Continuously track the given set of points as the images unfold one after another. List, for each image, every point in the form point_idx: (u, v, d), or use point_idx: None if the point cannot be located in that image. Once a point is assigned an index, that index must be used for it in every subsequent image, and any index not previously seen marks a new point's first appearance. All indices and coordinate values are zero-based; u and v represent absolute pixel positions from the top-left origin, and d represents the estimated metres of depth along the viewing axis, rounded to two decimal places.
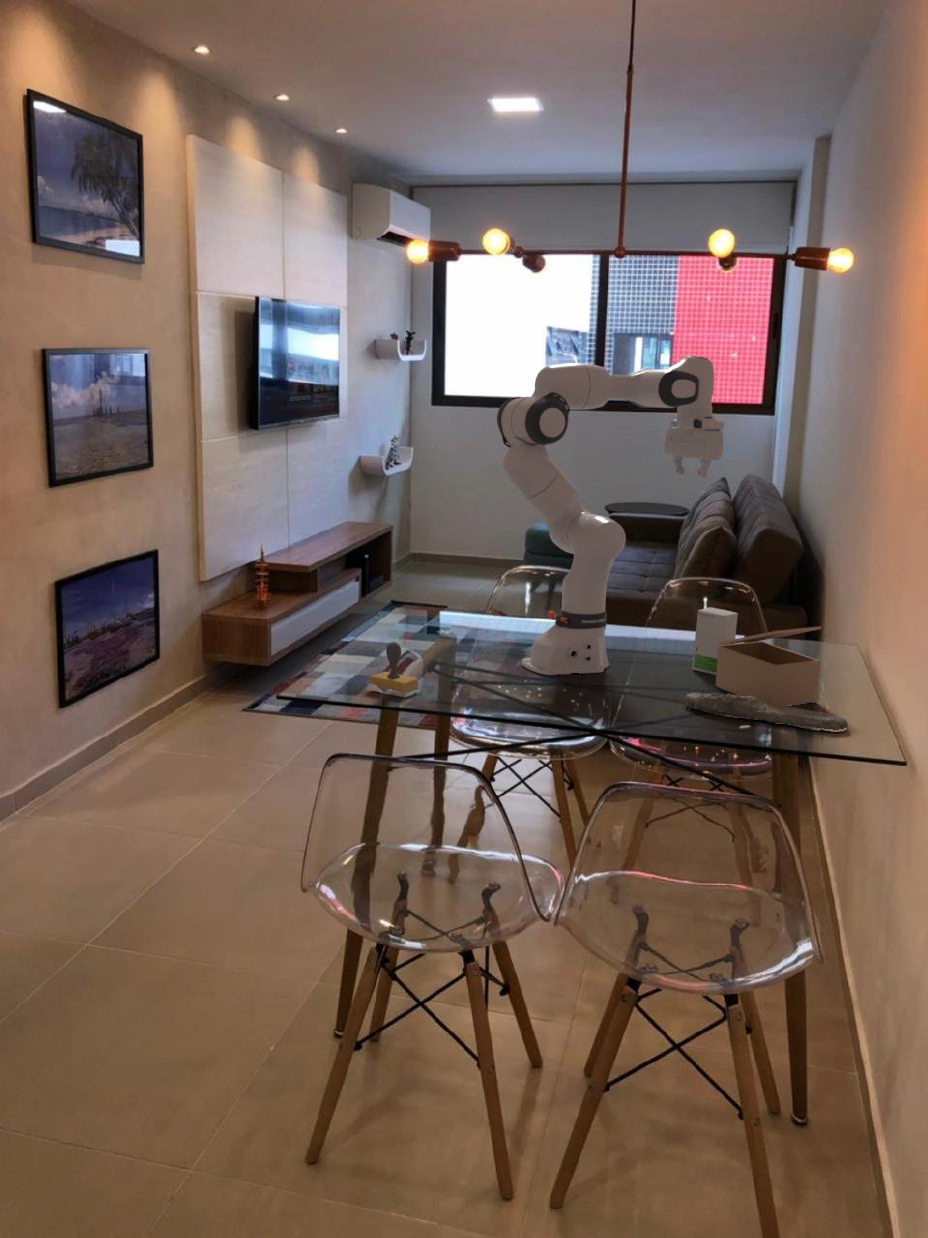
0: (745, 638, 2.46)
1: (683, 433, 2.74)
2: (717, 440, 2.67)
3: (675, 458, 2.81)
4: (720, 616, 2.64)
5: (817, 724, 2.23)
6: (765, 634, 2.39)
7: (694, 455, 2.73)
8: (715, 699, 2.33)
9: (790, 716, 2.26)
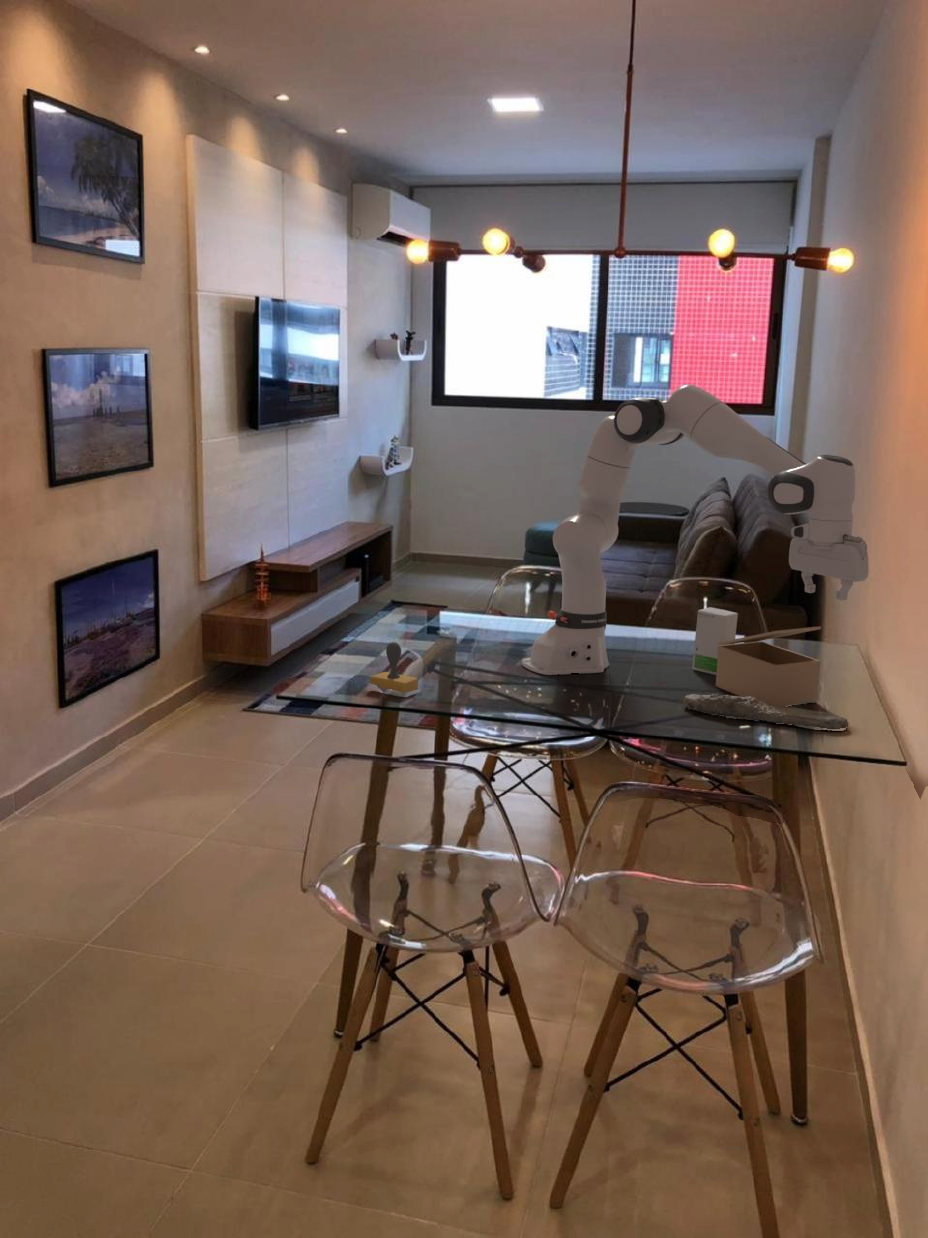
0: (745, 638, 2.46)
1: None
2: None
3: None
4: (720, 616, 2.64)
5: (819, 723, 2.24)
6: (765, 634, 2.39)
7: None
8: (715, 700, 2.32)
9: (791, 716, 2.26)
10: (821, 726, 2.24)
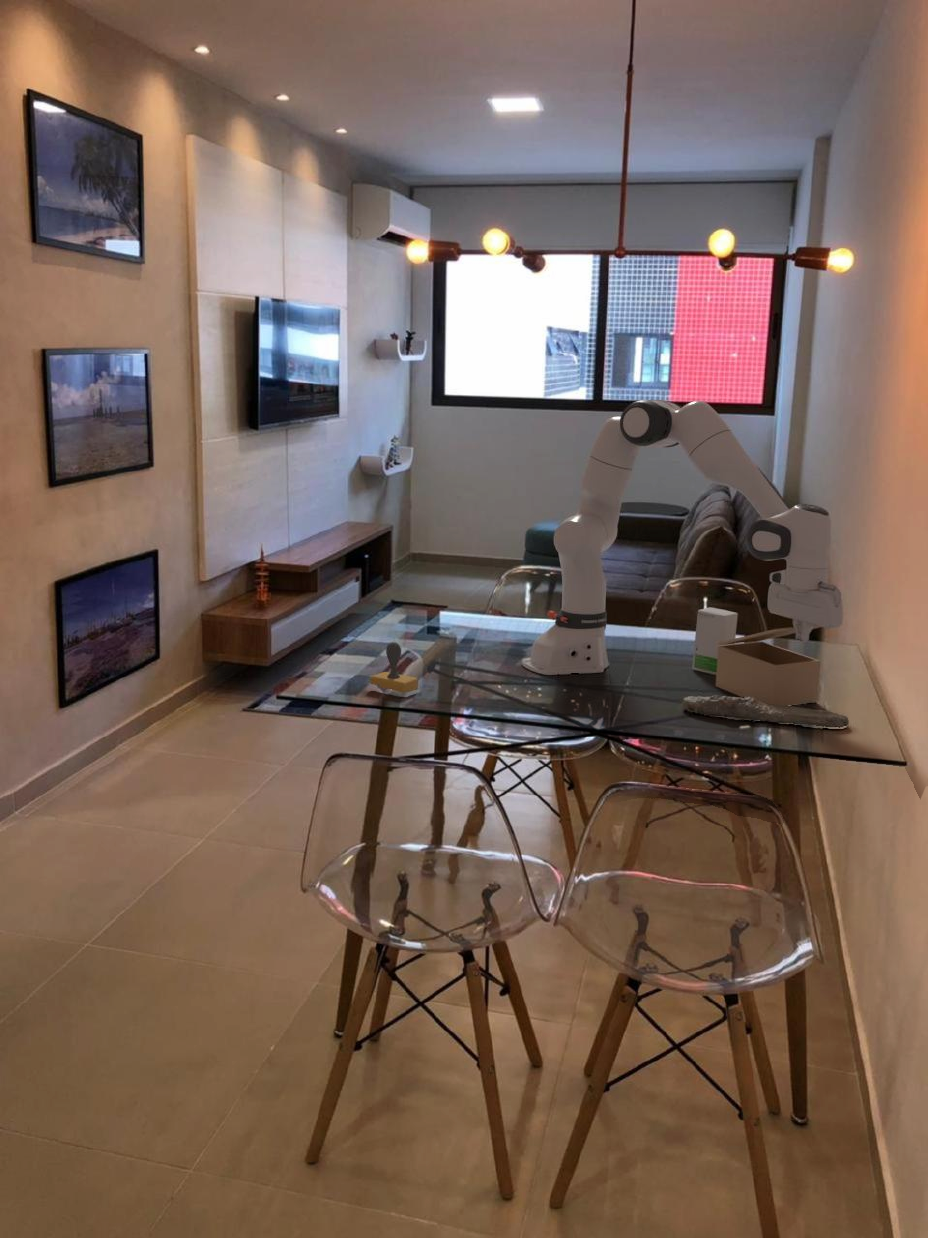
0: (745, 637, 2.46)
1: None
2: None
3: None
4: (720, 616, 2.64)
5: (821, 722, 2.25)
6: (765, 632, 2.39)
7: None
8: (717, 701, 2.31)
9: (793, 716, 2.27)
10: (824, 724, 2.25)
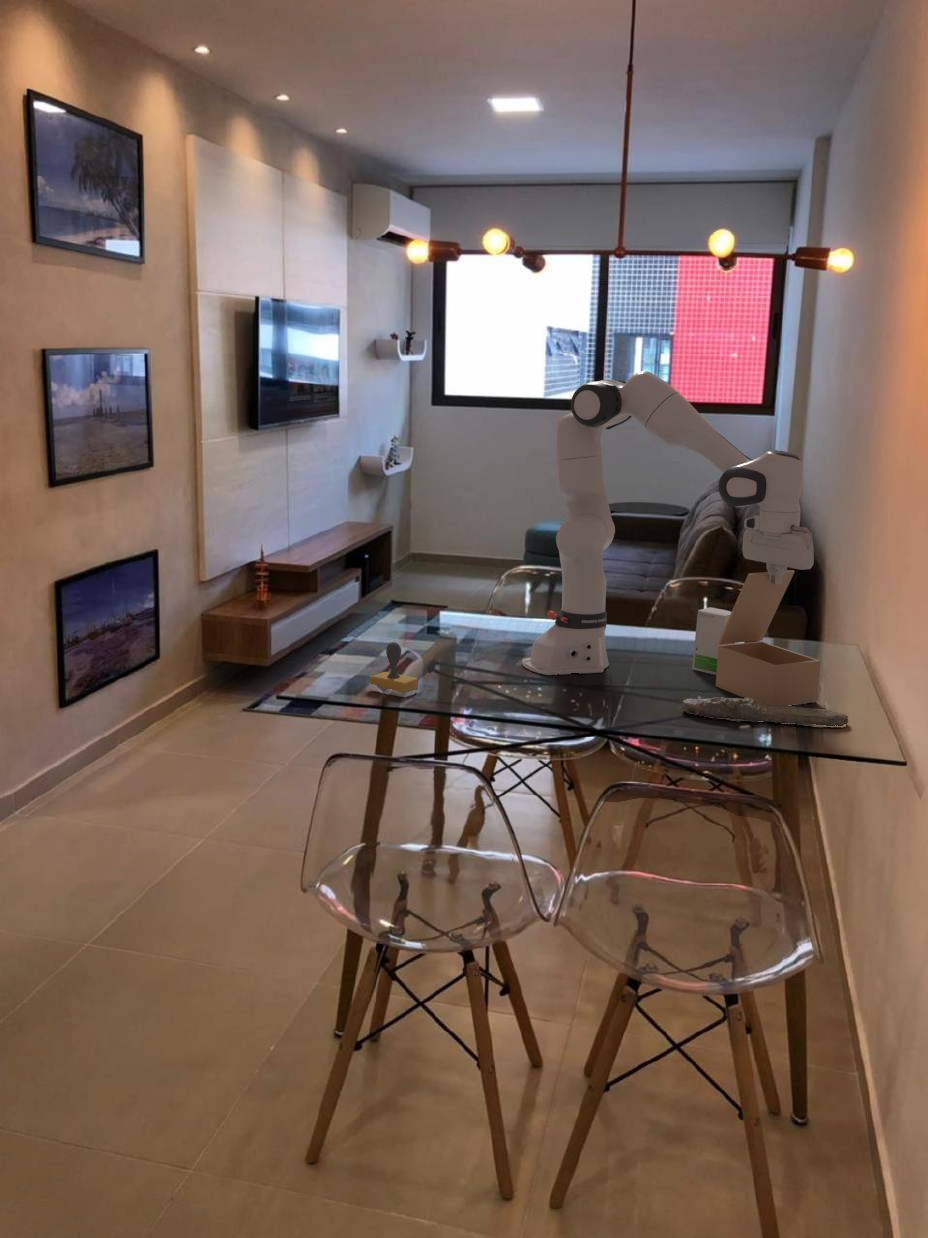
0: (733, 610, 2.49)
1: None
2: None
3: None
4: (720, 616, 2.64)
5: (823, 721, 2.25)
6: (743, 586, 2.45)
7: None
8: (718, 703, 2.30)
9: (795, 715, 2.27)
10: (826, 723, 2.25)
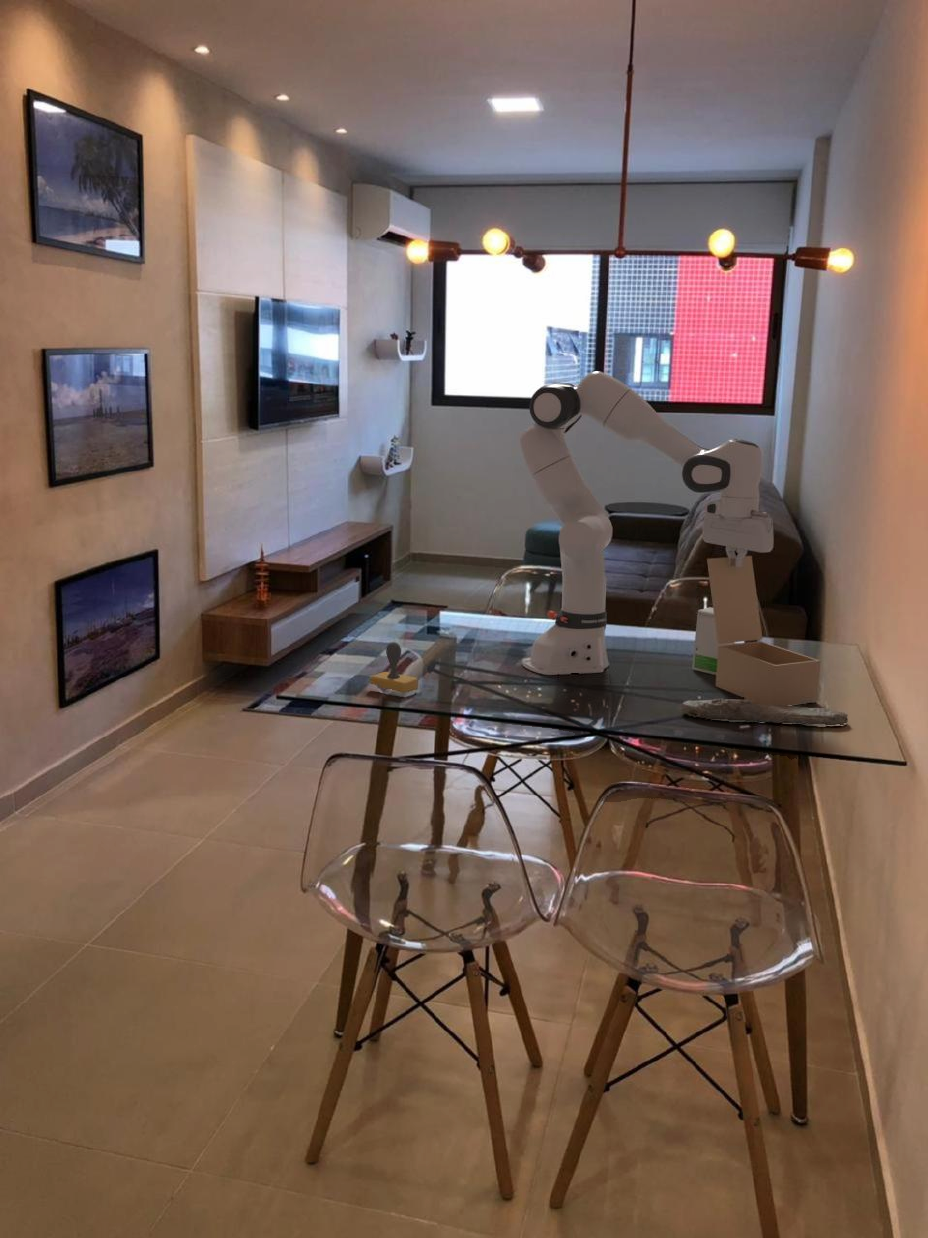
0: (713, 602, 2.55)
1: None
2: None
3: None
4: None
5: (825, 720, 2.26)
6: (709, 573, 2.56)
7: None
8: (720, 705, 2.28)
9: (797, 715, 2.27)
10: (827, 723, 2.26)
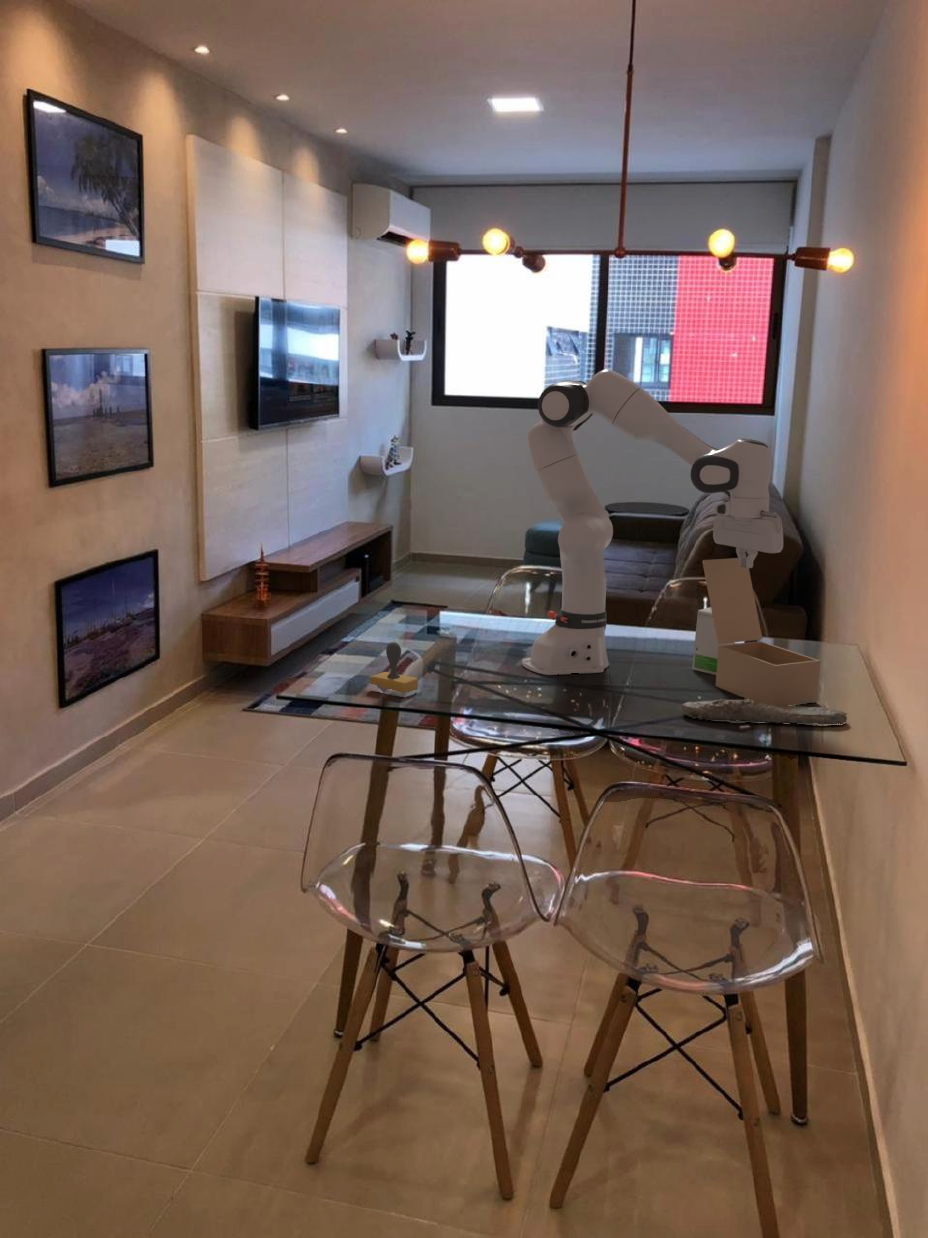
0: (710, 602, 2.56)
1: None
2: None
3: None
4: None
5: (825, 719, 2.26)
6: (705, 574, 2.57)
7: None
8: (722, 706, 2.28)
9: (798, 715, 2.27)
10: (827, 722, 2.27)
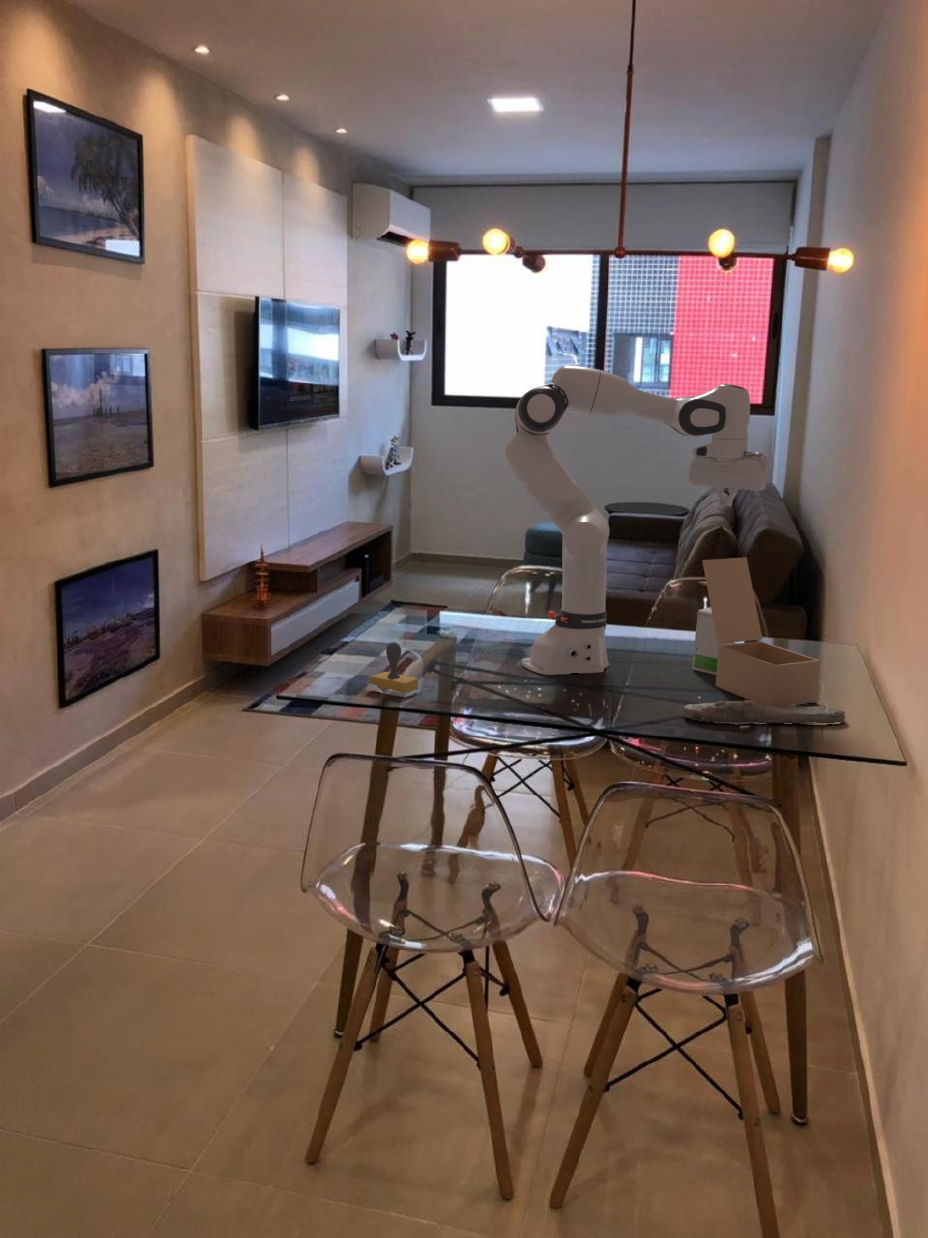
0: (710, 602, 2.56)
1: None
2: None
3: None
4: None
5: (826, 718, 2.27)
6: (705, 574, 2.57)
7: None
8: (725, 708, 2.26)
9: (799, 715, 2.27)
10: (828, 721, 2.27)
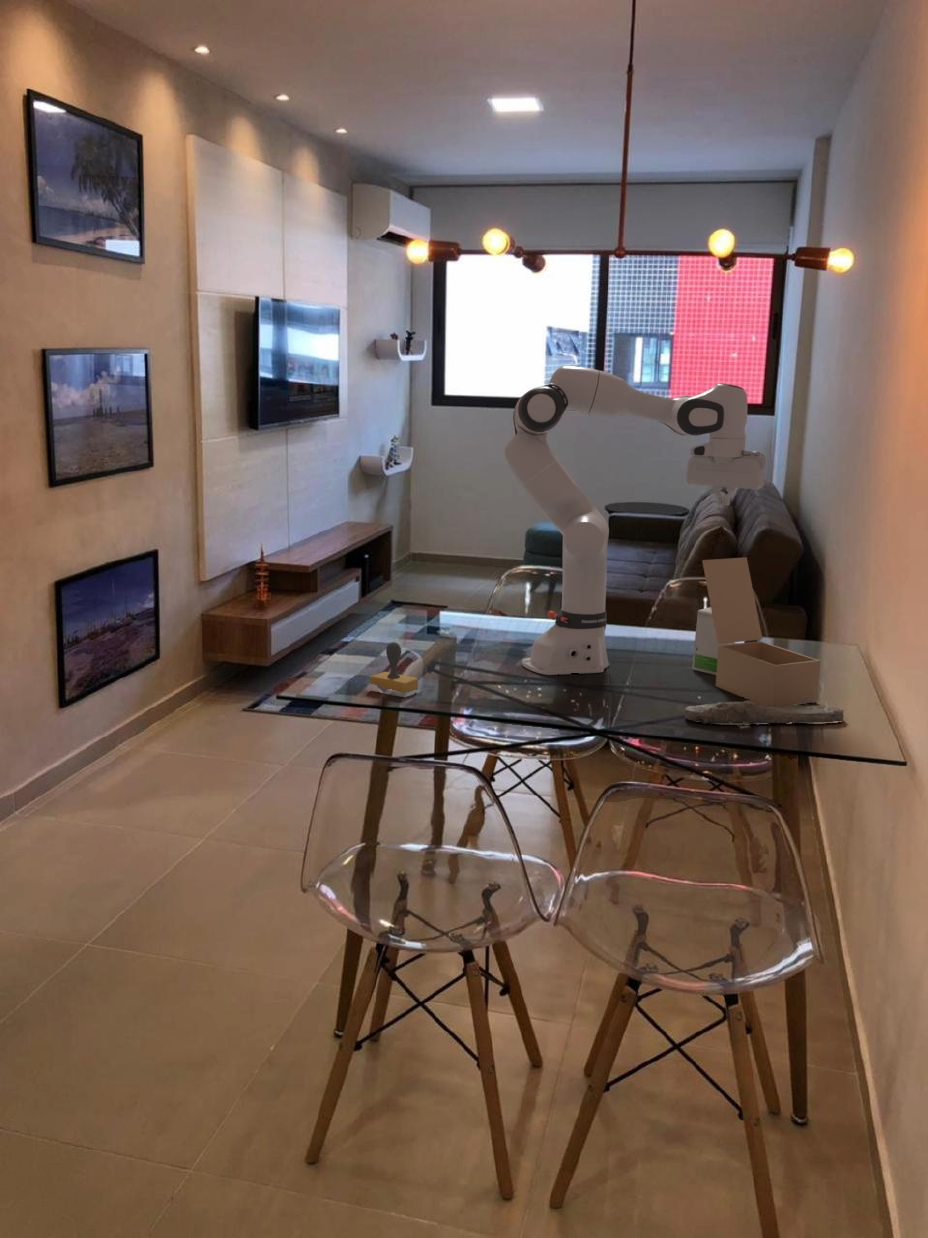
0: (710, 602, 2.56)
1: None
2: None
3: None
4: None
5: (826, 717, 2.28)
6: (705, 574, 2.57)
7: None
8: (727, 709, 2.26)
9: (799, 715, 2.28)
10: (828, 720, 2.28)
